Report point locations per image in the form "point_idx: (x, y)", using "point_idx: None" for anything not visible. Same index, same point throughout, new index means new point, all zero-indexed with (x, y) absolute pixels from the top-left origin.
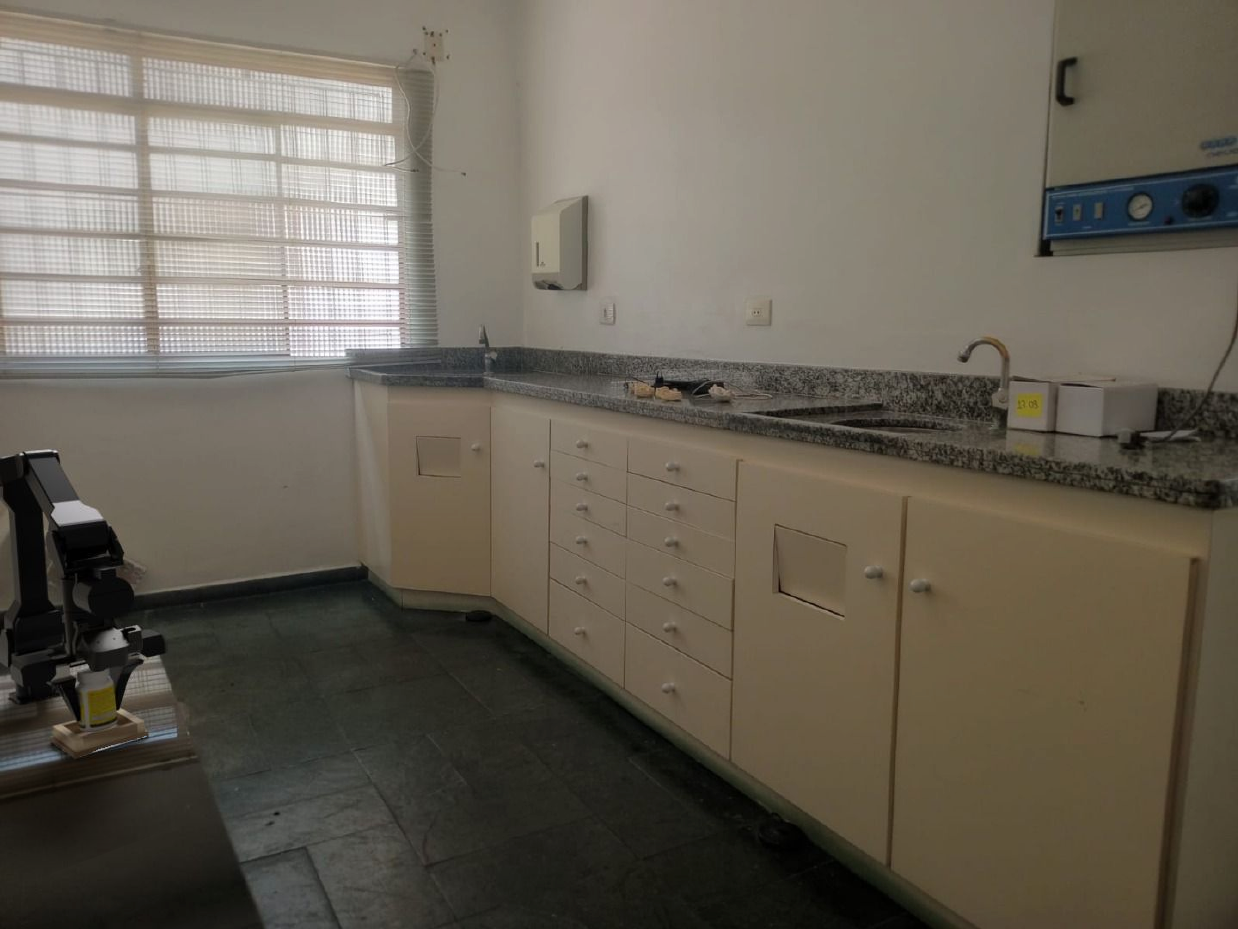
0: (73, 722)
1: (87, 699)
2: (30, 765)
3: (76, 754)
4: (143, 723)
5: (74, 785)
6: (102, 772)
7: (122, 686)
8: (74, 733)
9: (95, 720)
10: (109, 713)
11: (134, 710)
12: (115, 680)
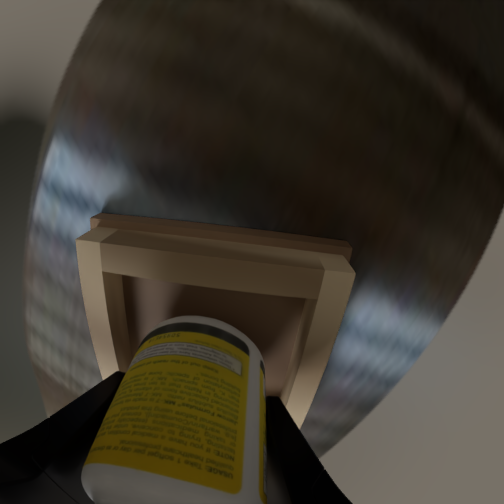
0: None
1: (243, 456)
2: (417, 311)
3: (346, 244)
4: (82, 236)
5: (436, 46)
6: (352, 42)
7: (55, 429)
8: (301, 356)
9: (228, 355)
10: (162, 352)
11: None
12: (74, 475)
